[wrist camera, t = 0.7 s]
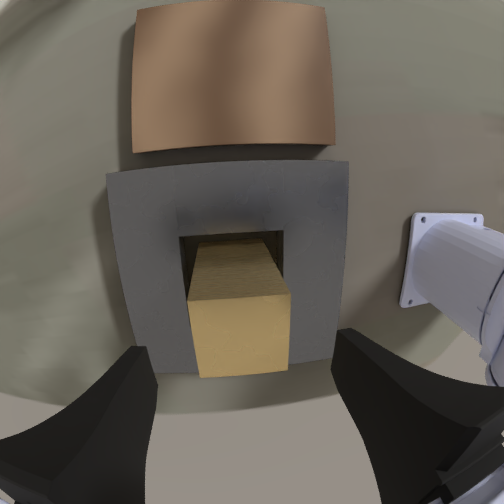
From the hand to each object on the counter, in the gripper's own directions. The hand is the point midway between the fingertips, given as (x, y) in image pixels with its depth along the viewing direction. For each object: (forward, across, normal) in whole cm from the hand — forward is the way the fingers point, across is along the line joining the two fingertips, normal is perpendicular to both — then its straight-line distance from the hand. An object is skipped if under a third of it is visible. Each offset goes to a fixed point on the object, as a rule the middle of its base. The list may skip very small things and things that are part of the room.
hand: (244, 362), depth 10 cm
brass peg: (+10, 0, 0) cm, 10 cm away
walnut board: (+9, -1, -13) cm, 16 cm away
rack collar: (+9, 0, 0) cm, 9 cm away
